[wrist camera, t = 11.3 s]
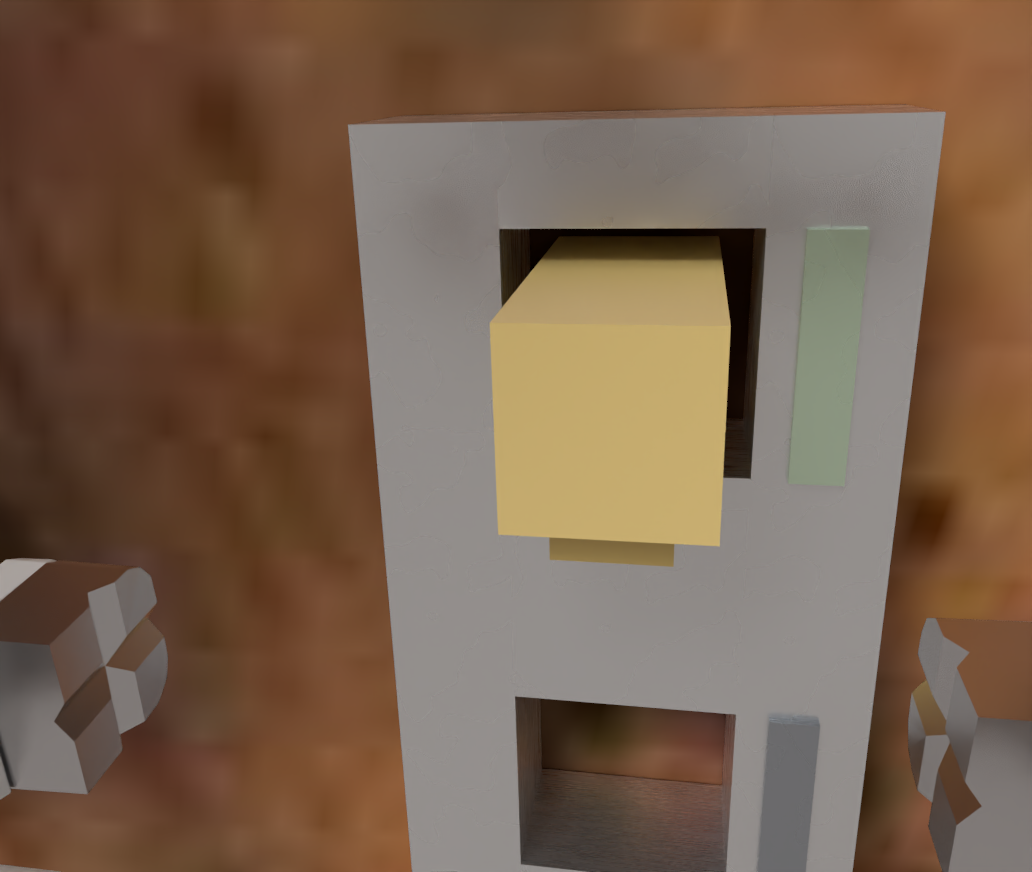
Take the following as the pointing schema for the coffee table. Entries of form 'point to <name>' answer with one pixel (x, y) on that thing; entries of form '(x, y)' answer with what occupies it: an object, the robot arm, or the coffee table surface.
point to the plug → (613, 398)
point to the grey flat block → (697, 569)
